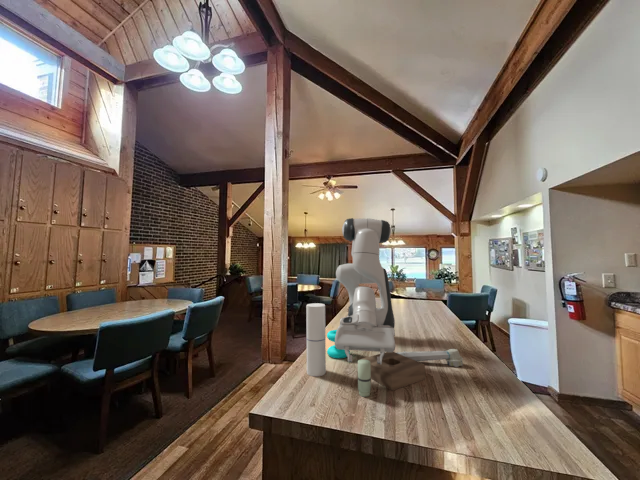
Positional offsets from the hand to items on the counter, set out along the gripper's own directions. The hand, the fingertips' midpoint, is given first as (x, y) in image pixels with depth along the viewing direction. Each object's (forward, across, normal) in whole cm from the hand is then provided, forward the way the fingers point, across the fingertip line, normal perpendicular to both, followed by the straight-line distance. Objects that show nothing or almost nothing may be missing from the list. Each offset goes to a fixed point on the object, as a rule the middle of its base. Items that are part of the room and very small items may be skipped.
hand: (364, 362), depth 89 cm
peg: (+8, 0, -6) cm, 9 cm away
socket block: (-3, -10, -16) cm, 19 cm away
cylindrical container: (-2, +18, -15) cm, 24 cm away
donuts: (-15, +11, -28) cm, 34 cm away
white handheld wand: (-13, -26, -26) cm, 38 cm away
